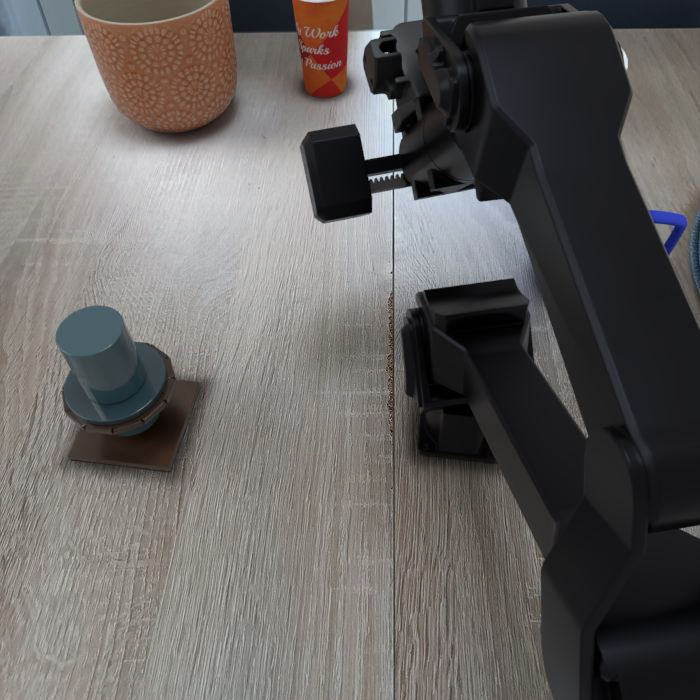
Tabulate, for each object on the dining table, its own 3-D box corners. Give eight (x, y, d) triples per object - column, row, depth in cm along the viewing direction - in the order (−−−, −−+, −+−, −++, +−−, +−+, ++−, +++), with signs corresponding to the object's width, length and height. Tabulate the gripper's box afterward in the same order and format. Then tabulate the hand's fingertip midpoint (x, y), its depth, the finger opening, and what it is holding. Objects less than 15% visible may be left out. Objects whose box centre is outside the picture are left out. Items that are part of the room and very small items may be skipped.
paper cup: (287, 94, 88) (275, -17, 77) (315, 67, 92) (307, -41, 81) (338, 107, 86) (333, -5, 75) (364, 79, 90) (363, -31, 79)
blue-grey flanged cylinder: (192, 382, 56) (162, 297, 48) (157, 460, 52) (116, 382, 43) (109, 368, 58) (65, 283, 49) (67, 443, 53) (11, 364, 45)
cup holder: (170, 471, 53) (152, 436, 48) (69, 459, 54) (43, 423, 49) (200, 385, 58) (187, 346, 54) (108, 375, 59) (88, 336, 55)
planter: (224, 155, 80) (198, 28, 68) (93, 143, 82) (46, 20, 70) (260, 82, 90) (243, -38, 78) (144, 74, 92) (110, -44, 81)
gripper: (587, -25, 40) (492, 63, 56) (291, 19, 38) (277, 98, 53) (614, 157, 42) (514, 193, 57) (330, 211, 39) (306, 234, 55)
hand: (406, 177), depth 55 cm, fingers open, 9 cm apart
